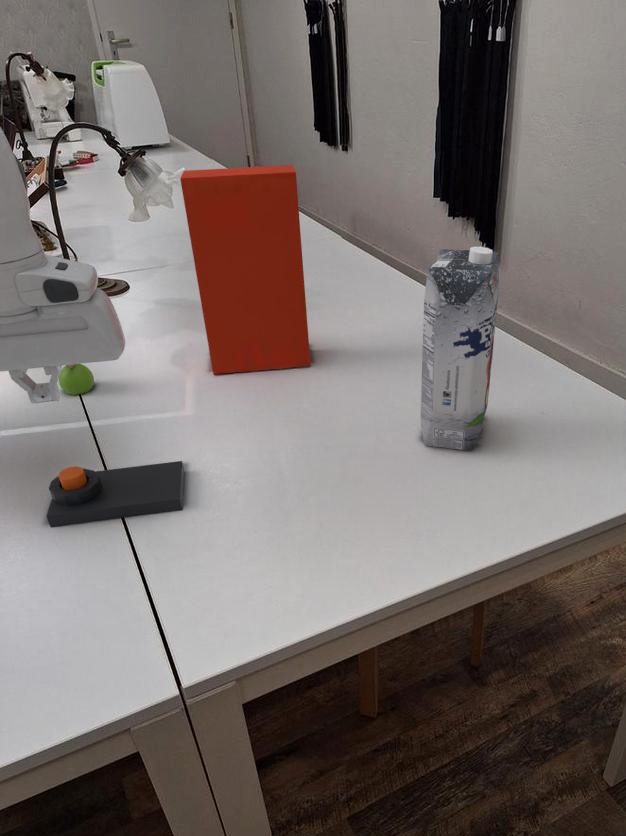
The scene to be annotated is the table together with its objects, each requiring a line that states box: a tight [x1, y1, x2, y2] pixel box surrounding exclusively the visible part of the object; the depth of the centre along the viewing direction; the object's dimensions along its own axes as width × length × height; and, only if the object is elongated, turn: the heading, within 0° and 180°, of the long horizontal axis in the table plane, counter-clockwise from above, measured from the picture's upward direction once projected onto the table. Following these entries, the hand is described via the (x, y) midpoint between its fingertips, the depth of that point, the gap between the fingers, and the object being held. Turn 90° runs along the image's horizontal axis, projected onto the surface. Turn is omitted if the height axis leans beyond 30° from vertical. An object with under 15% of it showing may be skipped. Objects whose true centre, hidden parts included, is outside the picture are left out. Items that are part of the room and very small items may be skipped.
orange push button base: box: [46, 460, 186, 529], centre depth 84 cm, size 16×9×4 cm, turn 101°
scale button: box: [58, 465, 87, 490], centre depth 82 cm, size 3×3×2 cm
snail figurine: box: [58, 363, 95, 396], centre depth 107 cm, size 5×6×12 cm
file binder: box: [179, 164, 312, 375], centre depth 110 cm, size 8×17×32 cm, turn 99°
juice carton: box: [420, 246, 500, 452], centre depth 89 cm, size 9×10×27 cm
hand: (46, 400), depth 76 cm, fingers closed
